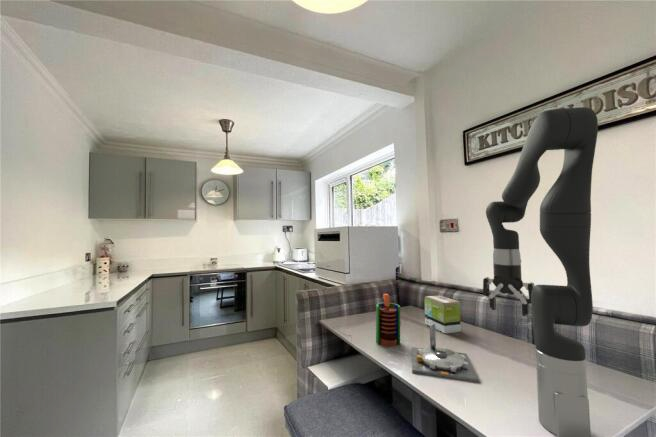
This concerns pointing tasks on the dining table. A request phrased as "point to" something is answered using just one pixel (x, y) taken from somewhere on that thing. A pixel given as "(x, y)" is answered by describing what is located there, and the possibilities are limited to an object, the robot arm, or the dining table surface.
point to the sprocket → (440, 356)
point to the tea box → (443, 313)
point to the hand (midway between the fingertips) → (508, 312)
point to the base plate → (460, 374)
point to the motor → (387, 323)
